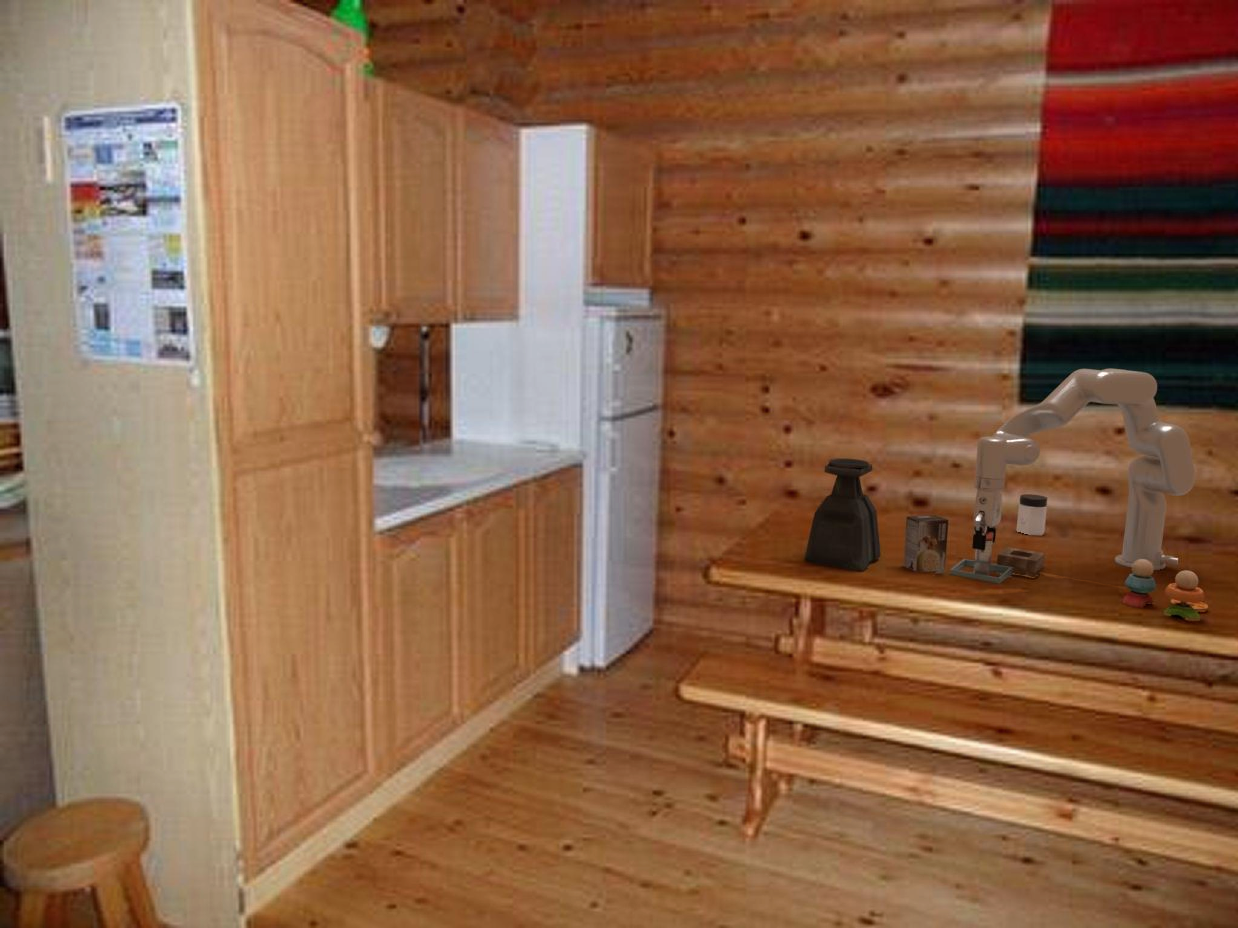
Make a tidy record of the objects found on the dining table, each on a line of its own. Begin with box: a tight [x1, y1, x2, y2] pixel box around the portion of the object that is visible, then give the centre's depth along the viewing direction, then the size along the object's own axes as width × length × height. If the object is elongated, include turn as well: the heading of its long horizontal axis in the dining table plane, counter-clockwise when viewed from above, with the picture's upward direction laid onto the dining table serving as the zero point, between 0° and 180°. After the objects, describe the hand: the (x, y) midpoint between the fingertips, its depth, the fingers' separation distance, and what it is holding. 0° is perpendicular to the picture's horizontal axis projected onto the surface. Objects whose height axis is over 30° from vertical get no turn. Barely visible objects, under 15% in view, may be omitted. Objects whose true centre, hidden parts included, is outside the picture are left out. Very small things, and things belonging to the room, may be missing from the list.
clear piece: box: [972, 530, 993, 576], centre depth 255 cm, size 4×4×12 cm
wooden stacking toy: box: [1122, 559, 1209, 619], centre depth 230 cm, size 18×17×12 cm
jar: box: [1016, 493, 1048, 536], centre depth 305 cm, size 9×8×12 cm
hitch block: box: [996, 546, 1045, 578], centre depth 262 cm, size 10×10×5 cm
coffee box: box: [903, 514, 949, 575], centre depth 255 cm, size 9×6×16 cm
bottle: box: [803, 457, 882, 572], centre depth 259 cm, size 18×16×30 cm
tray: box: [949, 558, 1013, 584], centre depth 255 cm, size 13×13×2 cm
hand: (983, 545), depth 254 cm, fingers open, 9 cm apart
